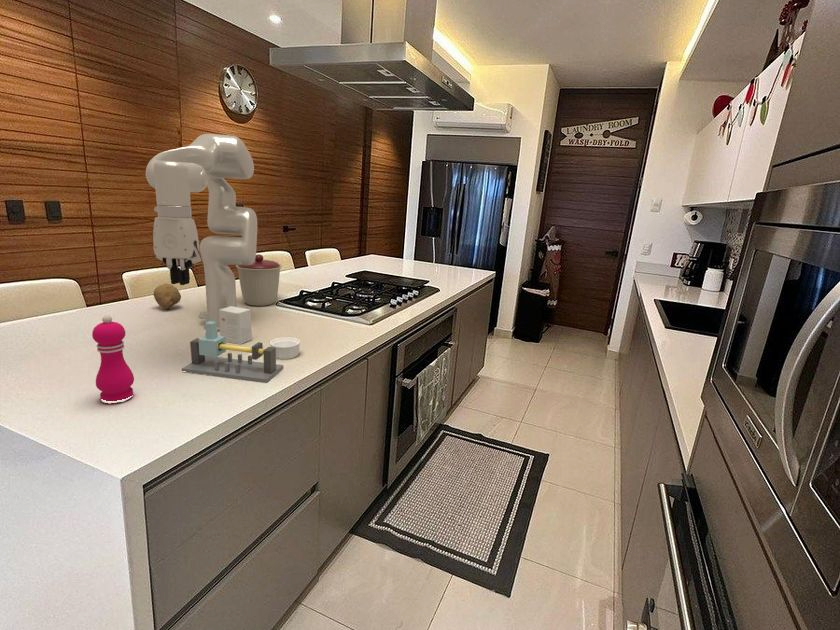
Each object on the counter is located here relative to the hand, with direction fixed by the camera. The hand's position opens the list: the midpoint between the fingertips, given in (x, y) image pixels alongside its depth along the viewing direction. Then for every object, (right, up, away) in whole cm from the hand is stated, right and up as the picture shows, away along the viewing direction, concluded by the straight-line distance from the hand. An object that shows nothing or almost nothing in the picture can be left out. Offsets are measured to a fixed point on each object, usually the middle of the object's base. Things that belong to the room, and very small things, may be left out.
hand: (180, 283), depth 115 cm
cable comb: (+12, -24, +5) cm, 27 cm away
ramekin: (+22, -21, +18) cm, 36 cm away
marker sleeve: (+7, -19, +4) cm, 20 cm away
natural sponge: (-35, -6, +55) cm, 65 cm away
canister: (-5, -4, +72) cm, 72 cm away
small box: (+3, -17, +27) cm, 32 cm away
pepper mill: (-7, -28, -14) cm, 32 cm away
